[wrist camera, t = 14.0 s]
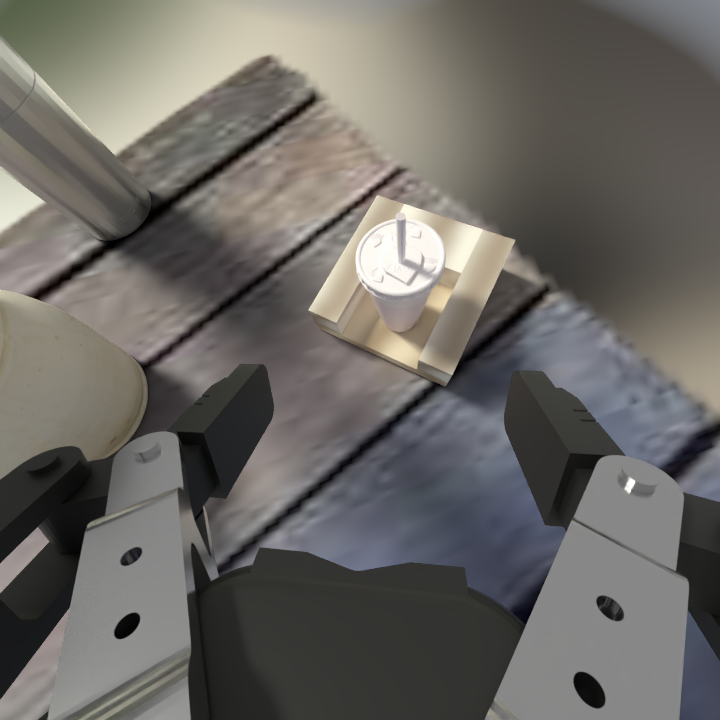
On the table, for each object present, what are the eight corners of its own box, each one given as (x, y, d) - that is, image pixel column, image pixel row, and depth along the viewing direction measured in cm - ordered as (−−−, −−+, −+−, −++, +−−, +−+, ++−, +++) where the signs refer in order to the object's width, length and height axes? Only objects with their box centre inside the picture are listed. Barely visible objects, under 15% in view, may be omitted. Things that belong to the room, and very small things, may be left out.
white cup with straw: (373, 351, 31) (352, 267, 18) (363, 292, 33) (336, 178, 20) (440, 338, 30) (470, 242, 17) (426, 279, 32) (442, 154, 19)
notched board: (320, 329, 34) (308, 310, 30) (380, 225, 37) (377, 195, 32) (445, 387, 30) (452, 375, 26) (500, 268, 33) (515, 240, 29)
